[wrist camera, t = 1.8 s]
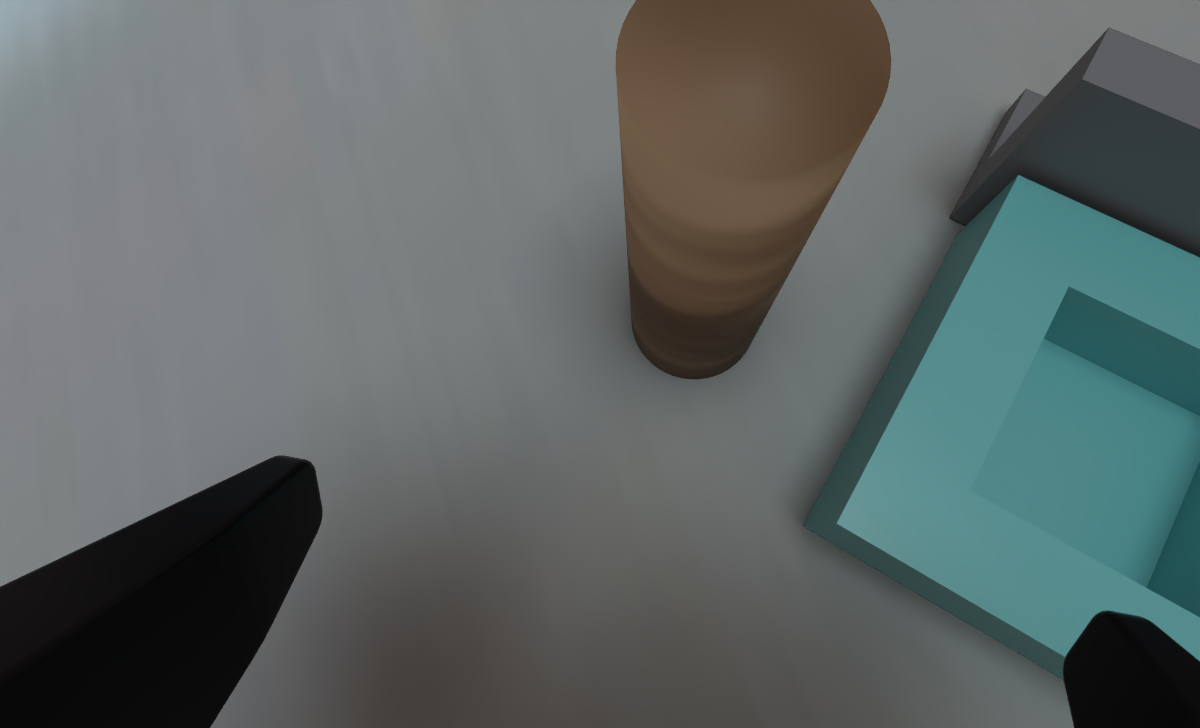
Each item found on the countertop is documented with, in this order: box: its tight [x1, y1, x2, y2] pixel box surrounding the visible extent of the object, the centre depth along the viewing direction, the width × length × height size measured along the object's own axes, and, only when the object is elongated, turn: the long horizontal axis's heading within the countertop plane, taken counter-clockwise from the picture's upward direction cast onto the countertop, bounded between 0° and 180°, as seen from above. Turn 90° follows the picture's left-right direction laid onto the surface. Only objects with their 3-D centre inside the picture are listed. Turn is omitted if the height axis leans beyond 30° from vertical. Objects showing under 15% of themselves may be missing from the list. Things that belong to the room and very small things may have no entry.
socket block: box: [803, 175, 1200, 680], centre depth 19 cm, size 11×11×4 cm
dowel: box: [616, 0, 891, 379], centre depth 16 cm, size 4×4×12 cm
